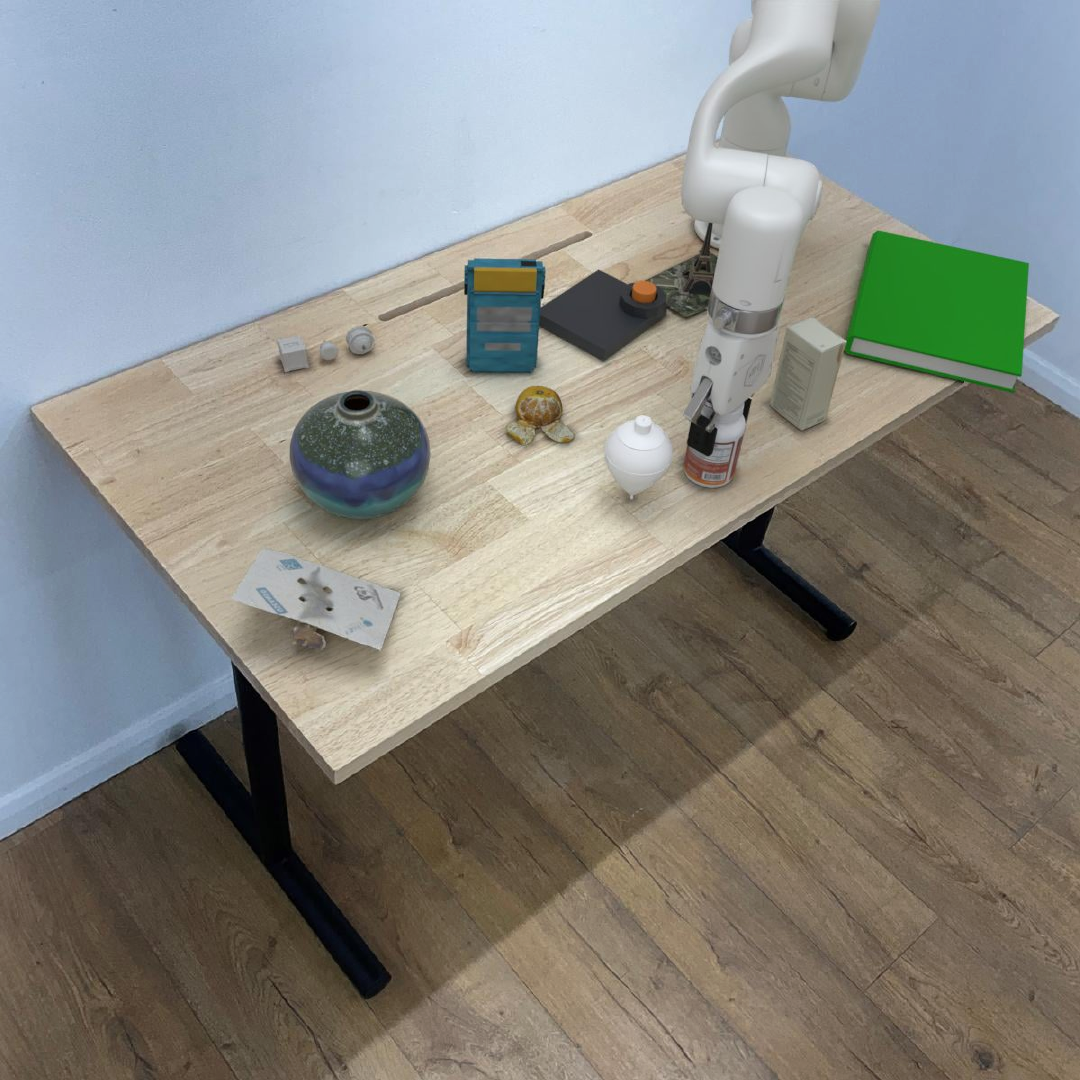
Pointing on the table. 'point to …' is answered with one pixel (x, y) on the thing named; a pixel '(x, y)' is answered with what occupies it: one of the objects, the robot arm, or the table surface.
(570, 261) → the table surface
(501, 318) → the teal case
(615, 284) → the dark grey button base
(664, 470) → the spinning top
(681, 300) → the eiffel tower figurine
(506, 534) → the table surface
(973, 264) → the book
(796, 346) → the cosmetic box
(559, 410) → the fruit
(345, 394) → the vase
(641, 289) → the button
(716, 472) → the pill bottle
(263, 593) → the card
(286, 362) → the toy set
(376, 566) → the table surface
